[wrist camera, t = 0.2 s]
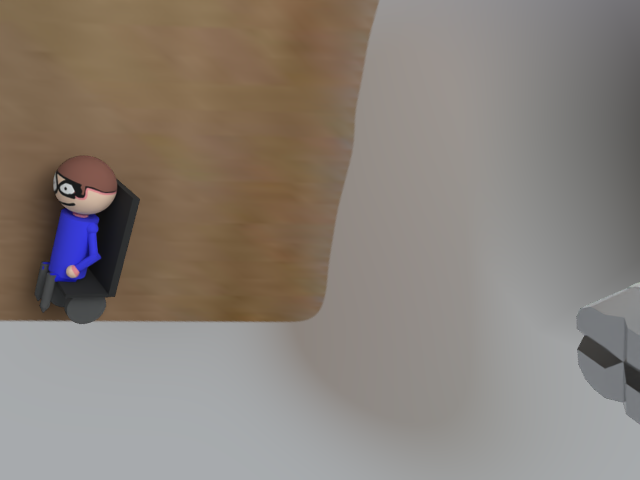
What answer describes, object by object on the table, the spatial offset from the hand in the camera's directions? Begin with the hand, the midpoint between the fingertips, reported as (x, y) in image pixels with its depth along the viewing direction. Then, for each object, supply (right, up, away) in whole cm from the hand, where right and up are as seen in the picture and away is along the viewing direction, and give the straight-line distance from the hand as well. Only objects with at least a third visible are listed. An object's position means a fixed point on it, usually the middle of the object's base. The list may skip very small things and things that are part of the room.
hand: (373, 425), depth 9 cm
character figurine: (-23, +4, +44) cm, 50 cm away
